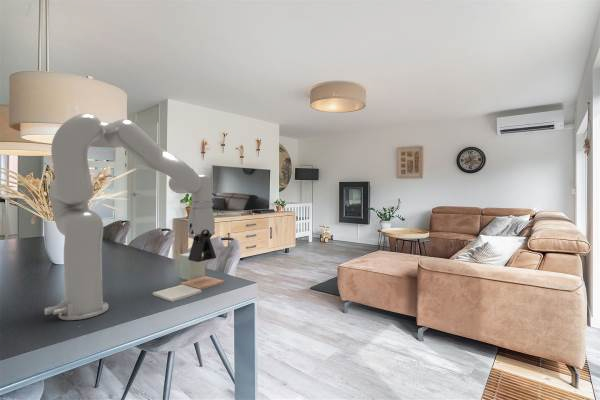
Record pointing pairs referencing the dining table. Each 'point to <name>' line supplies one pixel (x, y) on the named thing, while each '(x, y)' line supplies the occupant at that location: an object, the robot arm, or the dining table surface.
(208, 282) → the pad terracotta
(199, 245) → the black a-frame stand
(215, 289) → the dining table surface
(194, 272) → the block
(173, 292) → the pad cream
